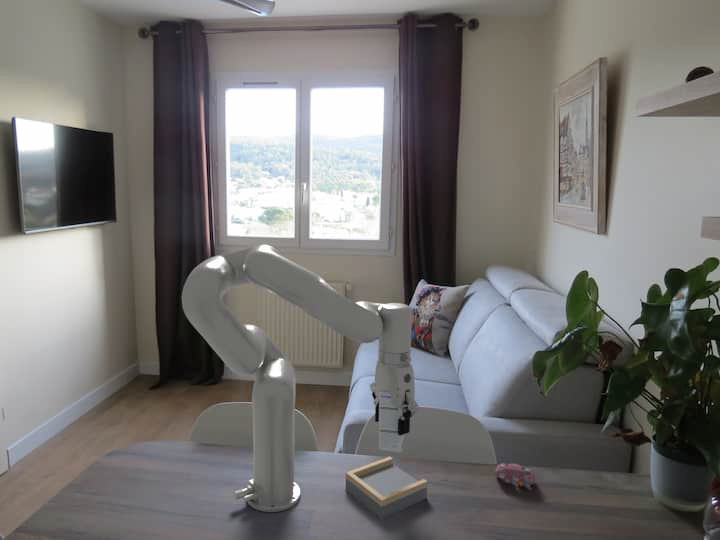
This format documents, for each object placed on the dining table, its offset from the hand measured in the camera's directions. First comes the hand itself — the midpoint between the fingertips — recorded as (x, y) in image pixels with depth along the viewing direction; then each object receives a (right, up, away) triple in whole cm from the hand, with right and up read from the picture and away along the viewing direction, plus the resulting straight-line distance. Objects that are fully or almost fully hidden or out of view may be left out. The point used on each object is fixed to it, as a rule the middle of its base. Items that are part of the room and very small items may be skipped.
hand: (391, 426), depth 124 cm
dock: (-1, -17, +2) cm, 17 cm away
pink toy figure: (+32, -17, +8) cm, 37 cm away
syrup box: (0, -5, +1) cm, 5 cm away
